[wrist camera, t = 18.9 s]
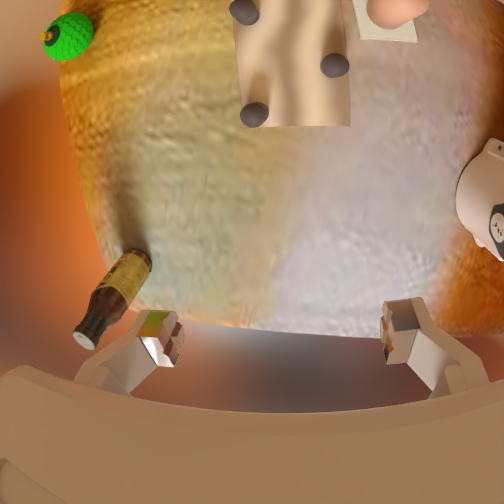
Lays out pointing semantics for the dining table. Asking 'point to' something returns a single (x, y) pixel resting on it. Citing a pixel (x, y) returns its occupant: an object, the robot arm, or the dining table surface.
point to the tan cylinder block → (394, 12)
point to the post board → (291, 62)
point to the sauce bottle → (113, 297)
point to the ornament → (67, 36)
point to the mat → (375, 32)
